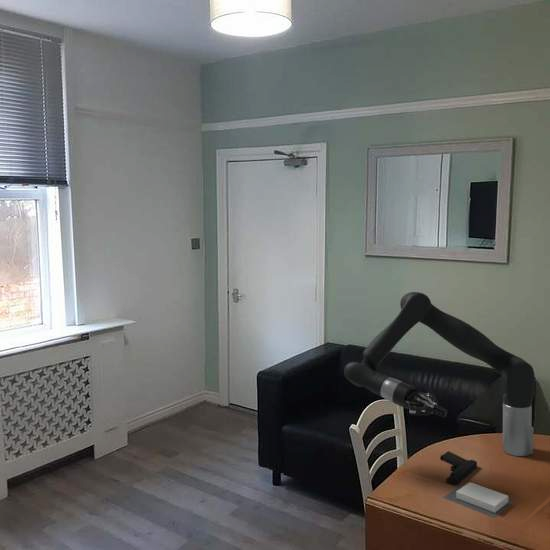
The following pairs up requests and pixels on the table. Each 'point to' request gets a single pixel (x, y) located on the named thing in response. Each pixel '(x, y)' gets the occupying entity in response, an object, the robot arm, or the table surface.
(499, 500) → the tile
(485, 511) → the mat
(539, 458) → the table surface
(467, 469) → the handgun
